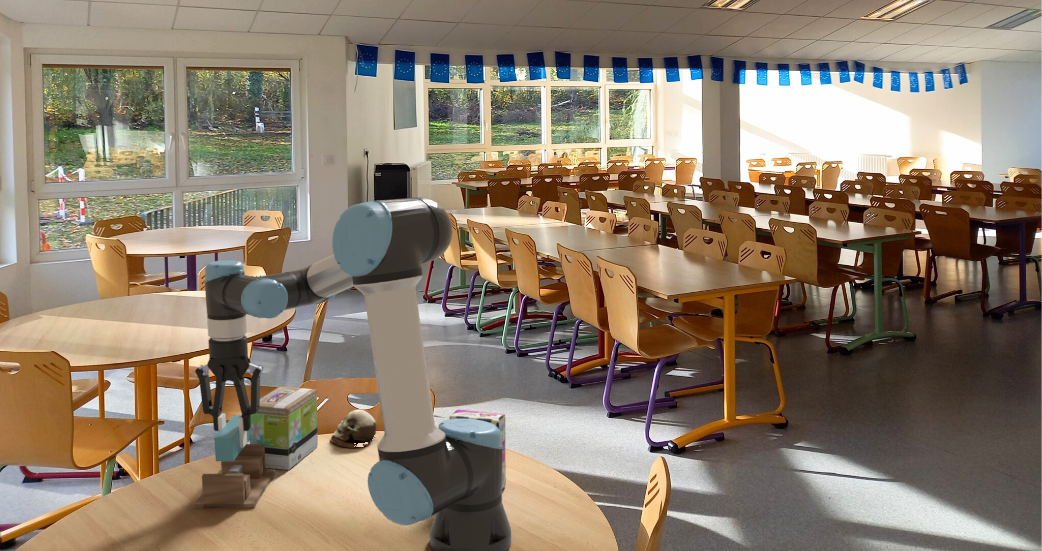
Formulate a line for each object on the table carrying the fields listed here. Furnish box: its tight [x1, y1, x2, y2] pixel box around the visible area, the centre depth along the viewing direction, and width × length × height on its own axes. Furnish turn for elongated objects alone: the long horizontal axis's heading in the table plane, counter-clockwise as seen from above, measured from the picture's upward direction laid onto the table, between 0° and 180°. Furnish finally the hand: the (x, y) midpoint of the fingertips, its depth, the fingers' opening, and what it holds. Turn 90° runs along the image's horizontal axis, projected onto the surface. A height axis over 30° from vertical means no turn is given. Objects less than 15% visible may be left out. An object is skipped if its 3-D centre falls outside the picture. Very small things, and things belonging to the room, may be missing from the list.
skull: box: [330, 409, 378, 449], centre depth 210 cm, size 12×10×10 cm
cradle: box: [193, 443, 276, 510], centre depth 180 cm, size 17×12×7 cm
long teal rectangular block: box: [214, 414, 251, 462], centre depth 179 cm, size 13×4×5 cm, turn 2°
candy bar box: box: [449, 409, 507, 491], centre depth 182 cm, size 11×5×16 cm, turn 73°
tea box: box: [249, 385, 319, 471], centre depth 198 cm, size 15×10×15 cm, turn 168°
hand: (233, 444), depth 179 cm, fingers closed on long teal rectangular block, 3 cm apart
